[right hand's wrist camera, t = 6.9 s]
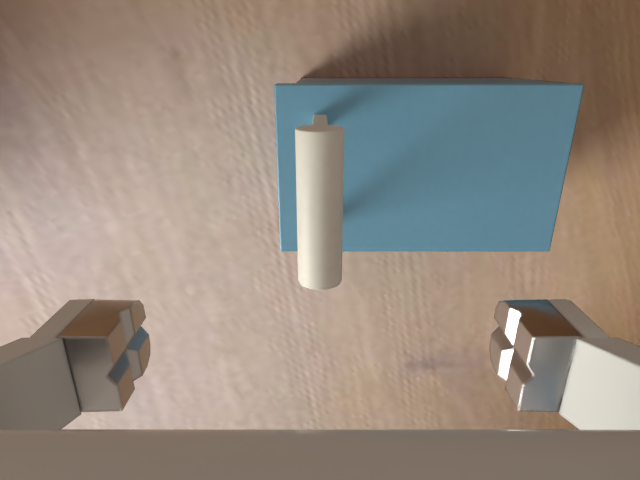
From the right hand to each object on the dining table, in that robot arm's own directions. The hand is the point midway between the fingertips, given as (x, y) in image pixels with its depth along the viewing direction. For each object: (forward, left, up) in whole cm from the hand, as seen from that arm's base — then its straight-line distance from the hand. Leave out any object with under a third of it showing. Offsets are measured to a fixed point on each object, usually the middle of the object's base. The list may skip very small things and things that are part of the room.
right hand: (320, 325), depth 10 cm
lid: (+3, +4, -16) cm, 17 cm away
